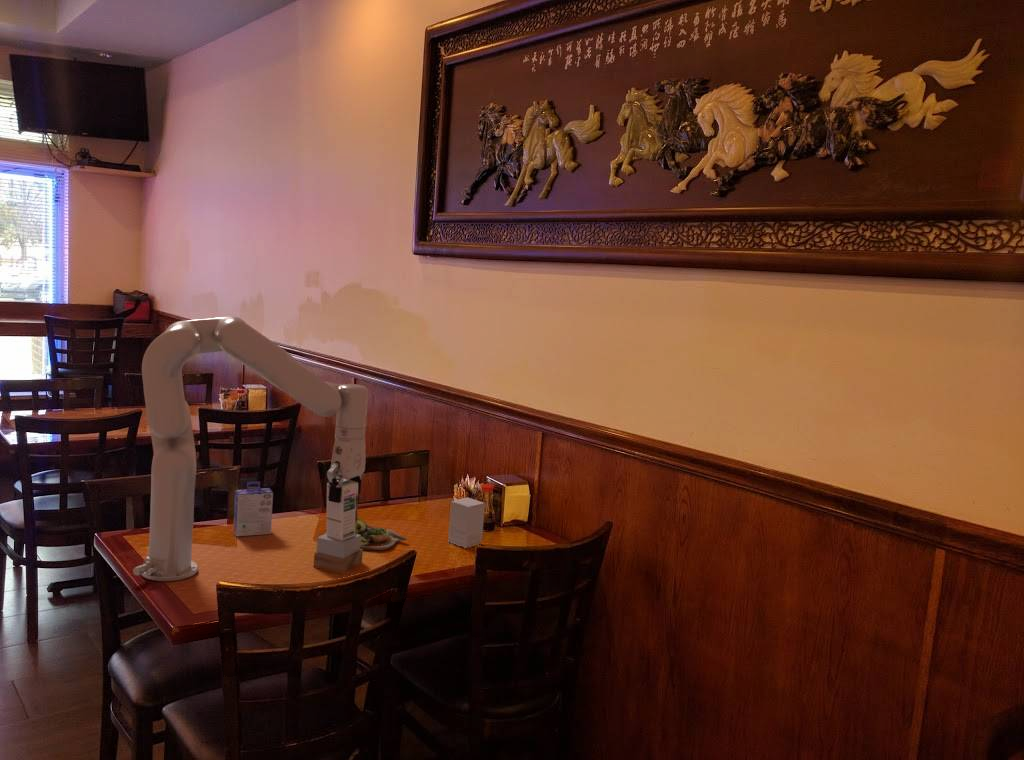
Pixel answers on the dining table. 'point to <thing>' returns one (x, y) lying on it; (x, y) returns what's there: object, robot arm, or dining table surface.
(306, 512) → the dining table surface
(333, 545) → the grey block
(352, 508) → the syrup box
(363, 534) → the salad plate
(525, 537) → the dining table surface
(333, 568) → the walnut block
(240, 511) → the ink cartridge box
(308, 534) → the dining table surface
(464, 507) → the supplement box
